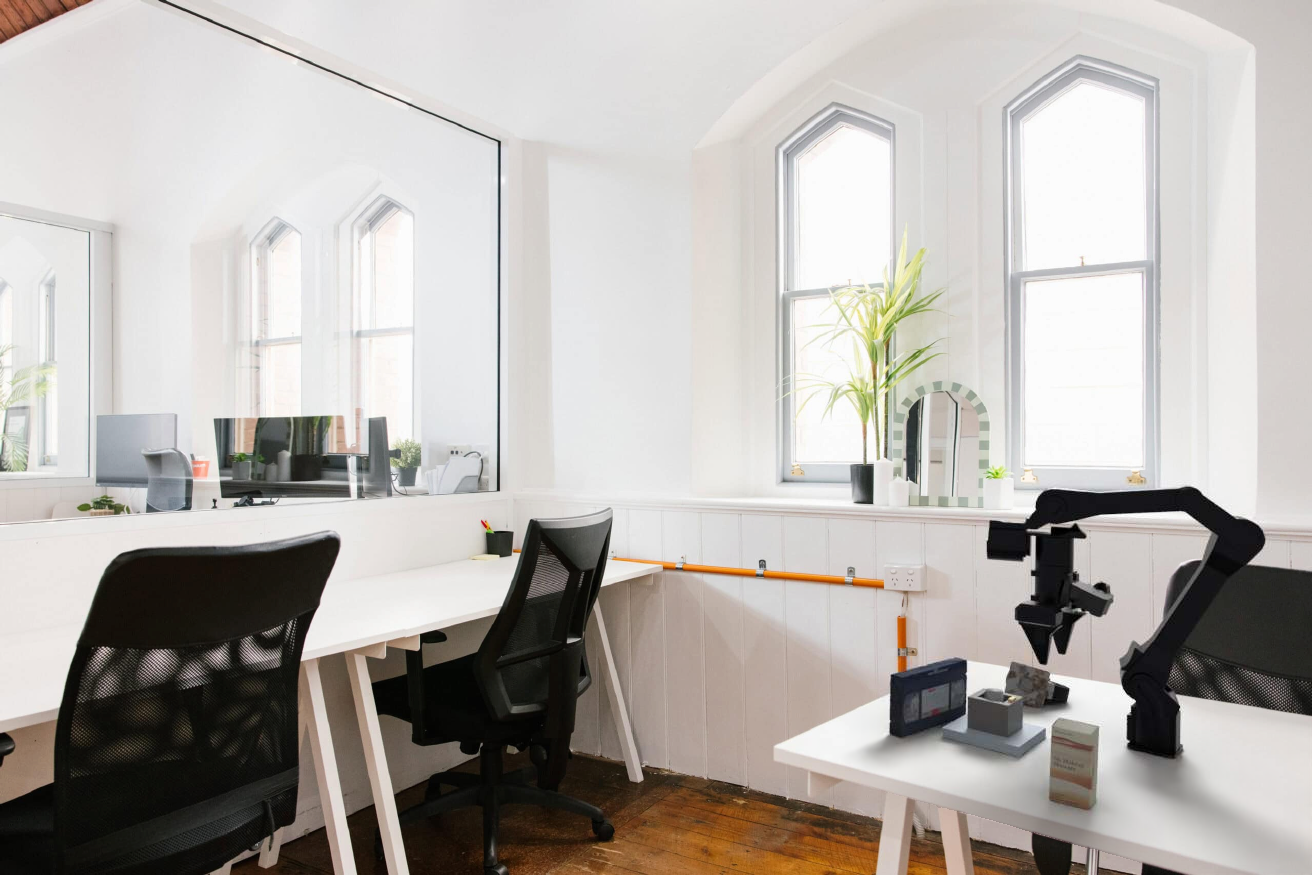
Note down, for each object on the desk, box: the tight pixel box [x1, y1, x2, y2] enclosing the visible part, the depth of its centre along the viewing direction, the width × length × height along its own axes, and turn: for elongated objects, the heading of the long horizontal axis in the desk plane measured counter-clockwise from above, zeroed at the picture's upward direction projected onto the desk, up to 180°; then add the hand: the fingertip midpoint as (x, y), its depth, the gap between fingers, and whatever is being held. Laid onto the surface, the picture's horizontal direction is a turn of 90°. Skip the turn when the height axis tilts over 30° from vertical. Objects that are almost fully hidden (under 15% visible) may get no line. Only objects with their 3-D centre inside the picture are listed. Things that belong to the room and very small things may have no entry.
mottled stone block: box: [1003, 661, 1071, 709], centre depth 155 cm, size 7×11×10 cm
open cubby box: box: [967, 688, 1024, 738], centre depth 135 cm, size 6×6×5 cm
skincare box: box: [1048, 717, 1100, 811], centre depth 112 cm, size 5×4×10 cm
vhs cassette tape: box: [888, 657, 968, 739], centre depth 140 cm, size 18×3×10 cm, turn 126°
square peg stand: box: [941, 687, 1047, 758], centre depth 135 cm, size 12×12×8 cm
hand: (1052, 659), depth 138 cm, fingers open, 9 cm apart
